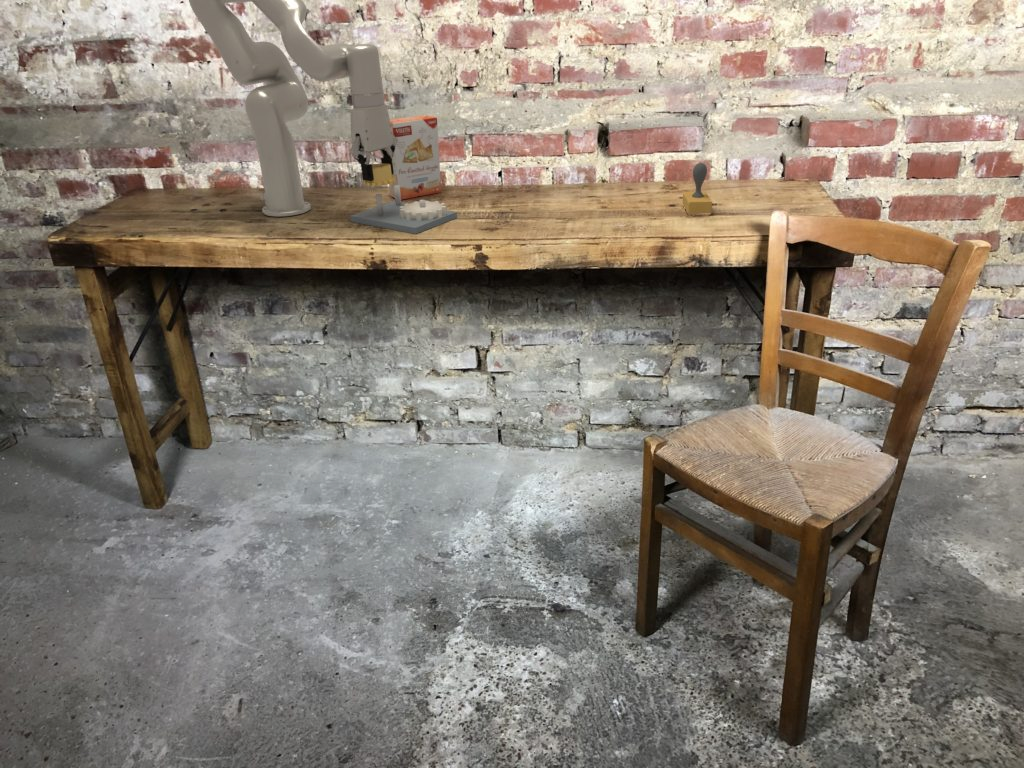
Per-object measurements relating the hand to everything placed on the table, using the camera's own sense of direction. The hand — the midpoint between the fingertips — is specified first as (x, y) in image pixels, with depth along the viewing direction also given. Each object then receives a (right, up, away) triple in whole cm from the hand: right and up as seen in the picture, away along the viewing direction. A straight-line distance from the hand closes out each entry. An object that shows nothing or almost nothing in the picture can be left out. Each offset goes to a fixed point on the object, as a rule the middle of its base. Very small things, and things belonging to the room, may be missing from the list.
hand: (378, 176), depth 189 cm
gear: (0, -1, +1) cm, 1 cm away
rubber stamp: (+80, -8, +5) cm, 81 cm away
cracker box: (+6, +2, +27) cm, 28 cm away
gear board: (+6, -10, +5) cm, 12 cm away
